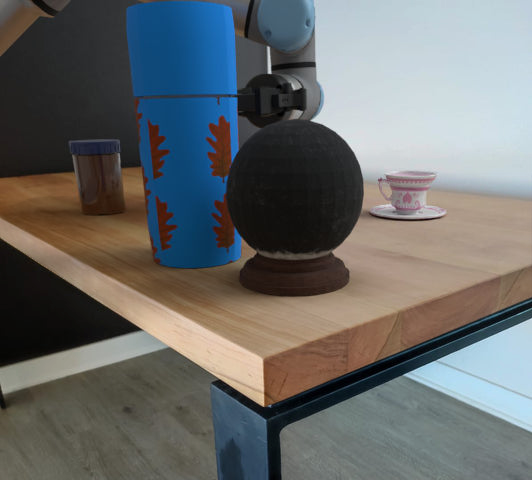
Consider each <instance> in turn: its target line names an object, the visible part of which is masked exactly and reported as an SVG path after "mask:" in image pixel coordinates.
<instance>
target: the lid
mask: <svg viewBox="0 0 532 480" xmlns="http://www.w3.org/2000/svg"><path fill="white" fill-rule="evenodd" d="M120 141H121V140H120V139H118V138H117V139H114V138H108V139H106V138H104V139H101V138H100V139H98V138H97V139H80V140H79V139H77V140H69V141H68V149H69V153H70V154H72V155H73V154H104V153H116V152H119V153H121V151H122V147H121V142H120Z"/></svg>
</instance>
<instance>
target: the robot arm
mask: <svg viewBox="0 0 532 480" xmlns="http://www.w3.org/2000/svg"><path fill="white" fill-rule="evenodd" d="M71 1H72V0H0V57H1V56H2V55H3V54H4V53H6V52H7V50H8V49H9V48H10V47H11V46H12V45H13V44H14V43H16V41H17V40H19V38H20V37H21V36H22V35H23V34H24V33H25V32H26V31H27V30H28V29H29V28H30V27H31V26H32V25H33V23H35V21H37V19H39V17H46V18H52V19H53V18H55V17H56V16H57V15H58V14H59V13H60V12H61V11H62V10H63V9H64V8H65V7H66V6H67V5H68V4H69V3H70V2H71ZM137 1H138V2H142V3H148V2H160V1H198V2H210V3H216V4H223V5H226V6H228V7H231V9H232V15H233V22H234V29H235V36H238V37H241V38H245V39H248V40H249V41H252V42H254V43H257V44H260V45H262V46H266V47H268V48H269V60H270V73H259V74H256V75H255V76H253V77H252V78H250V79H249V80H248V82H247V83H246V85H245V86H244V87H240V88H239V89H237V95H229V97H236V98H237V106H238V117H241V118H245V119H247V120H248V122H249V123H250V124H251V125H252V126H253V127H256V128H258V129H262V128H264V127H265V126H267V125H270V124H273V123H276V122H279V121H282V120H290V119H301V120H309V121H312V120H314V119H315V118H317V116H318V115H319V114H320V112H321V111H322V109H323V107H324V103H325V95H324V89H323V87H322V85H321V84H320V82H319V81H318V79H317V78H318V77H317V76H318V75H317V62H316V7H315V1H314V0H137Z"/></svg>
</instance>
